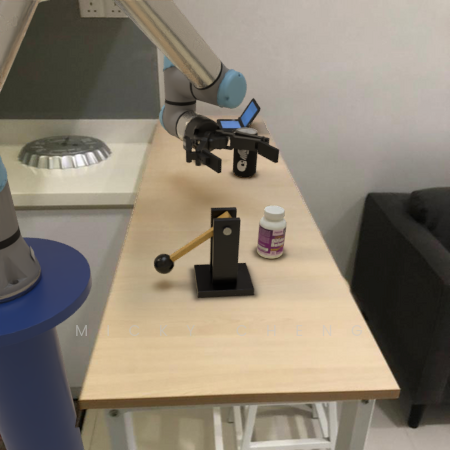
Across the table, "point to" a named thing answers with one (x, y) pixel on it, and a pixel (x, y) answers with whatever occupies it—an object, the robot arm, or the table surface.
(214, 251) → the stand
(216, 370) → the table surface
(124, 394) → the table surface
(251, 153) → the beverage can
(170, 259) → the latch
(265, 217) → the pill bottle
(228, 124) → the game console
